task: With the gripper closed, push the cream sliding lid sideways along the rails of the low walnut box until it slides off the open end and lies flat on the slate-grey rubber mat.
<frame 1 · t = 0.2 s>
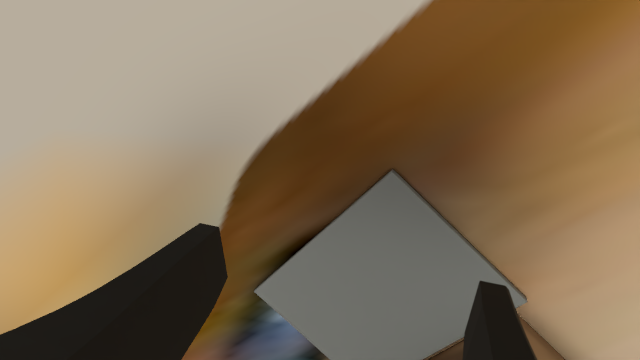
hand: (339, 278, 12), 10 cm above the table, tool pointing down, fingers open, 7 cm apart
slate mat: (377, 292, 25), on the table
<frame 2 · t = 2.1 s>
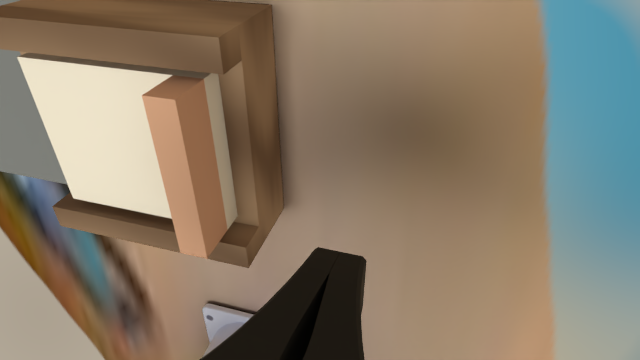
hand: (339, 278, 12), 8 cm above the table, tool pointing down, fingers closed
walnut box: (180, 107, 21), on the table
lid: (142, 136, 19), point 3 cm above the table, touching walnut box
slate mat: (11, 84, 23), on the table
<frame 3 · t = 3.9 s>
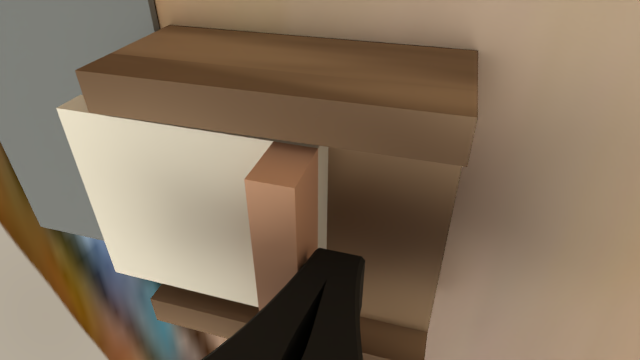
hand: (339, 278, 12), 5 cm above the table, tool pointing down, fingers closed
walnut box: (312, 171, 17), on the table
lid: (211, 204, 15), point 3 cm above the table, touching gripper, walnut box
slate mat: (85, 135, 19), on the table
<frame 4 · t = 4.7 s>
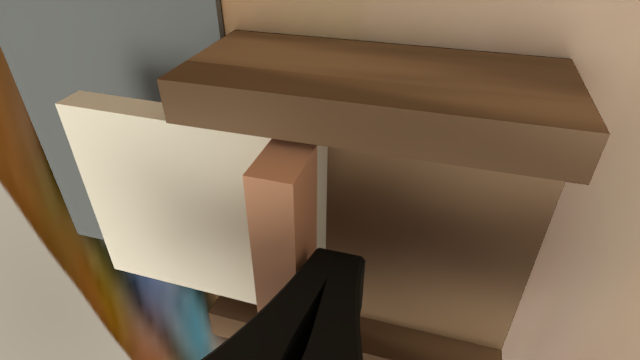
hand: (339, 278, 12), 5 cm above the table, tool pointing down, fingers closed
walnut box: (376, 181, 16), on the table
lid: (210, 201, 15), point 3 cm above the table, touching gripper, walnut box
slate mat: (134, 142, 18), on the table
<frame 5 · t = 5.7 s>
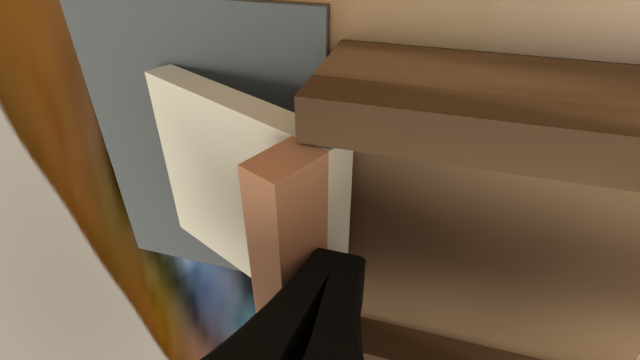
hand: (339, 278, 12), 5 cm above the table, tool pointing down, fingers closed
walnut box: (479, 198, 15), on the table
lid: (256, 186, 15), point 2 cm above the table, tilted 24°, touching gripper
slate mat: (211, 155, 18), on the table
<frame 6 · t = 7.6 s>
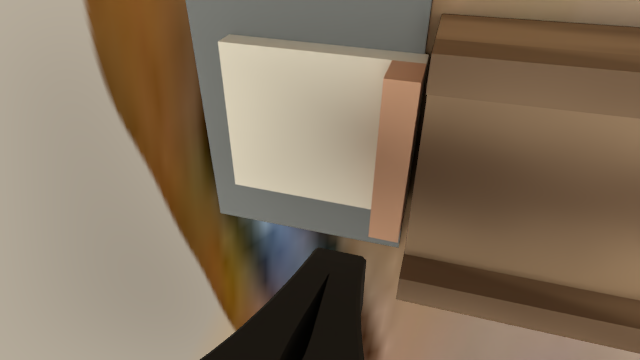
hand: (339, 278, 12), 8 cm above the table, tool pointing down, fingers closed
walnut box: (553, 156, 17), on the table
lid: (322, 122, 19), resting on slate mat
slate mat: (304, 122, 20), on the table
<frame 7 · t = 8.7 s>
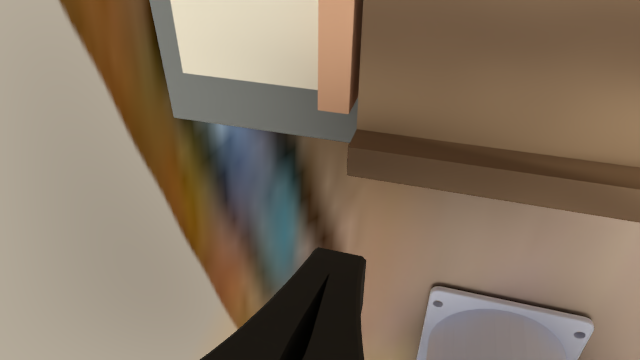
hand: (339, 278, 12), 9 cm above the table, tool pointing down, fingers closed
walnut box: (516, 15, 16), on the table
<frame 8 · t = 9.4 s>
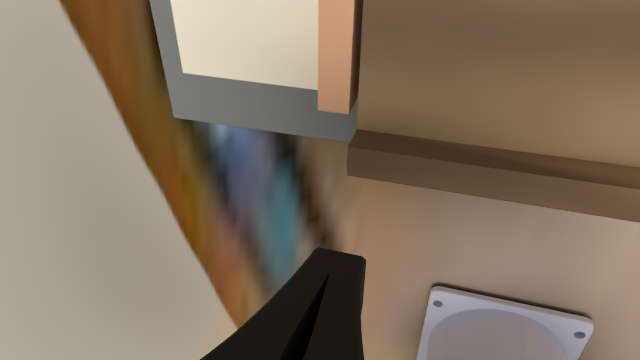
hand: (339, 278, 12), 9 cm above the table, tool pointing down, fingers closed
walnut box: (516, 15, 16), on the table
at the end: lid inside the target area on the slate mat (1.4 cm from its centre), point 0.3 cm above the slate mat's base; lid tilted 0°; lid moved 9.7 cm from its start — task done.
